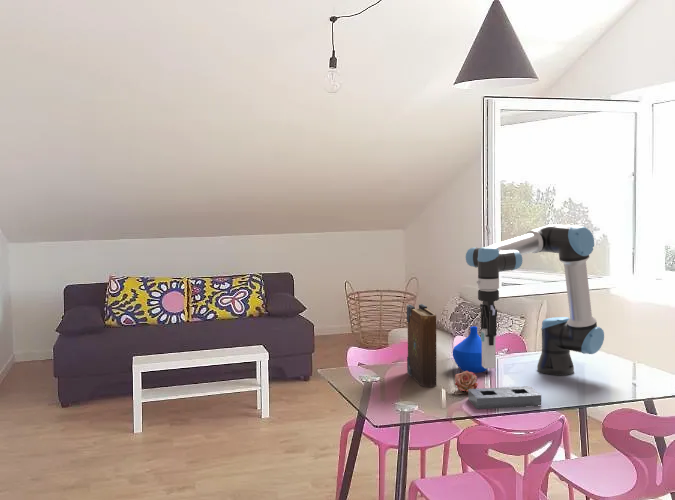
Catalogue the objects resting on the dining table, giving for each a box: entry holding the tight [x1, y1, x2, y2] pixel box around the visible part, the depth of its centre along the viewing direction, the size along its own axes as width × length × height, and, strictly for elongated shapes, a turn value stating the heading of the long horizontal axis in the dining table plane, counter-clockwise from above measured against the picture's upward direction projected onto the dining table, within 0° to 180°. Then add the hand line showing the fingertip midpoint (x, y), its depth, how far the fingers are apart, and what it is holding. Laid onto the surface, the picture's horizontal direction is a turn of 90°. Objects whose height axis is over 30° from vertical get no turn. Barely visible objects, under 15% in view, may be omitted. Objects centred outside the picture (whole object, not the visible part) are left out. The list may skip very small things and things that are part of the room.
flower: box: [454, 371, 479, 393], centre depth 293 cm, size 10×9×8 cm
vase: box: [452, 325, 490, 374], centre depth 325 cm, size 18×18×19 cm
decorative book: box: [406, 303, 437, 388], centre depth 311 cm, size 23×7×30 cm, turn 10°
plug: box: [480, 329, 497, 370], centre depth 275 cm, size 5×4×14 cm
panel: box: [467, 385, 542, 410], centre depth 278 cm, size 24×12×4 cm, turn 95°
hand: (488, 351), depth 276 cm, fingers closed on plug, 4 cm apart
